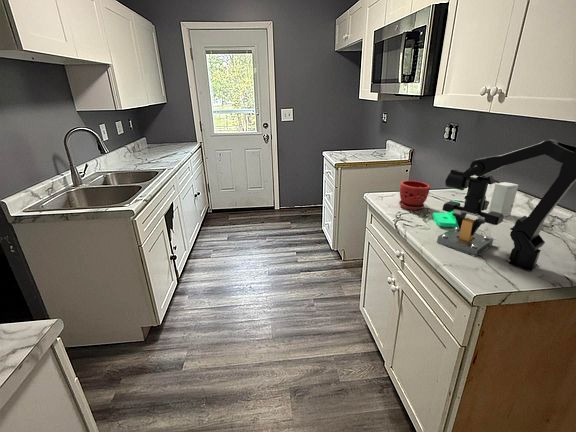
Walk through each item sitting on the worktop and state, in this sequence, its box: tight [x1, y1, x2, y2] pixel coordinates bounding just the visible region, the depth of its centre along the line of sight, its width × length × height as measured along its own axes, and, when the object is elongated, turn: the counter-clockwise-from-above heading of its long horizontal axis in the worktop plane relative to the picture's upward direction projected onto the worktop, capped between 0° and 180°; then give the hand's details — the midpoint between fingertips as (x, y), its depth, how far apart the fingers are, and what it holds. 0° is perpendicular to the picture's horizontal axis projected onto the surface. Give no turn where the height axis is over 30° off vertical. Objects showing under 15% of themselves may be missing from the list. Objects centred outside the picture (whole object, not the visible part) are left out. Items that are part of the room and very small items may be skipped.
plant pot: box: [398, 180, 431, 211], centre depth 152 cm, size 13×13×12 cm
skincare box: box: [487, 181, 519, 217], centre depth 142 cm, size 8×6×15 cm
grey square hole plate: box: [436, 227, 494, 257], centre depth 117 cm, size 14×14×3 cm
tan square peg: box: [459, 217, 476, 242], centre depth 115 cm, size 4×4×8 cm
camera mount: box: [432, 200, 460, 228], centre depth 134 cm, size 12×8×10 cm, turn 171°
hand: (466, 233), depth 116 cm, fingers closed on tan square peg, 3 cm apart
